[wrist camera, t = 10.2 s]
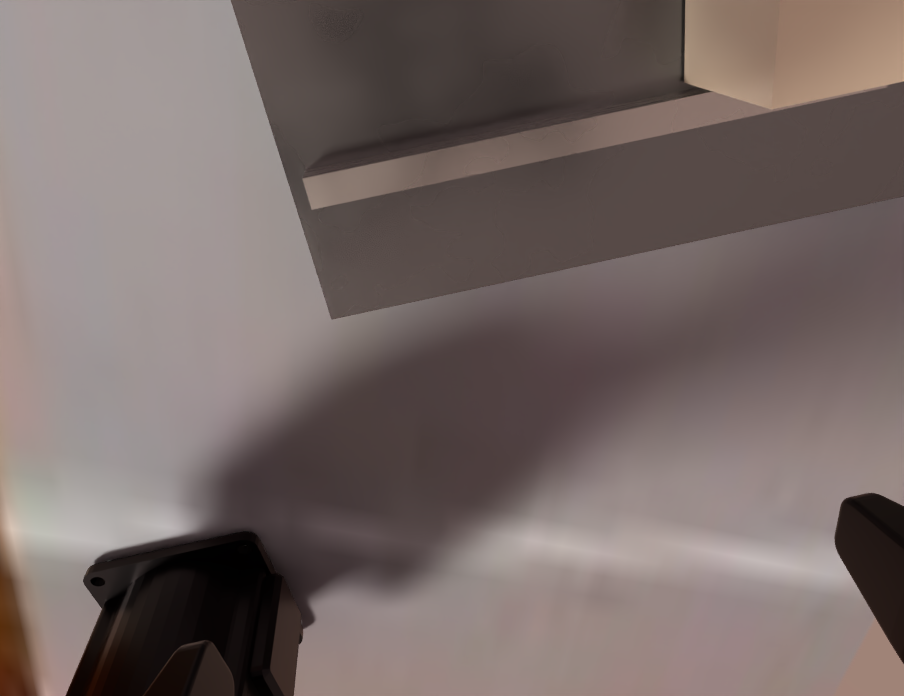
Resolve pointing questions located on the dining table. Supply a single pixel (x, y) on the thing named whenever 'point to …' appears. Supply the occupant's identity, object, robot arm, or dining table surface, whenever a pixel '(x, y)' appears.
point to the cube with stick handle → (792, 48)
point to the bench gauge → (532, 140)
